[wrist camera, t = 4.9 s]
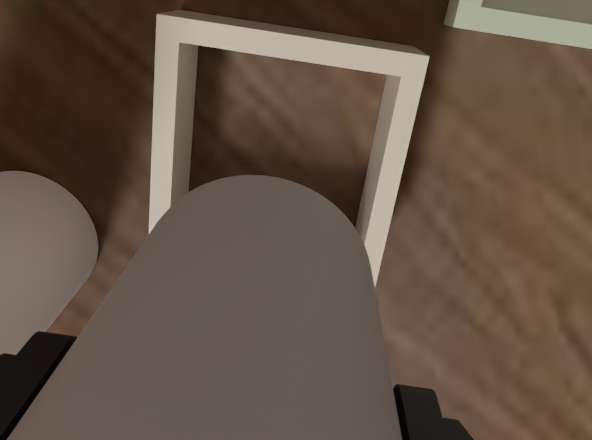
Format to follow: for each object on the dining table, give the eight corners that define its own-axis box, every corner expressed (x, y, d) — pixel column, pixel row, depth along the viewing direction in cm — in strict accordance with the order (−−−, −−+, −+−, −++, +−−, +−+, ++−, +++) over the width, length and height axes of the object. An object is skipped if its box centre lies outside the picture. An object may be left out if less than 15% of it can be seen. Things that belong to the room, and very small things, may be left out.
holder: (413, 46, 26) (429, 56, 23) (367, 252, 31) (374, 290, 27) (180, 9, 26) (156, 14, 22) (169, 223, 31) (147, 257, 27)
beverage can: (168, 140, 14) (-359, 659, 3) (399, 196, 15) (640, 840, 4) (140, 332, 17) (-208, 989, 6) (338, 376, 17) (366, 1078, 6)
